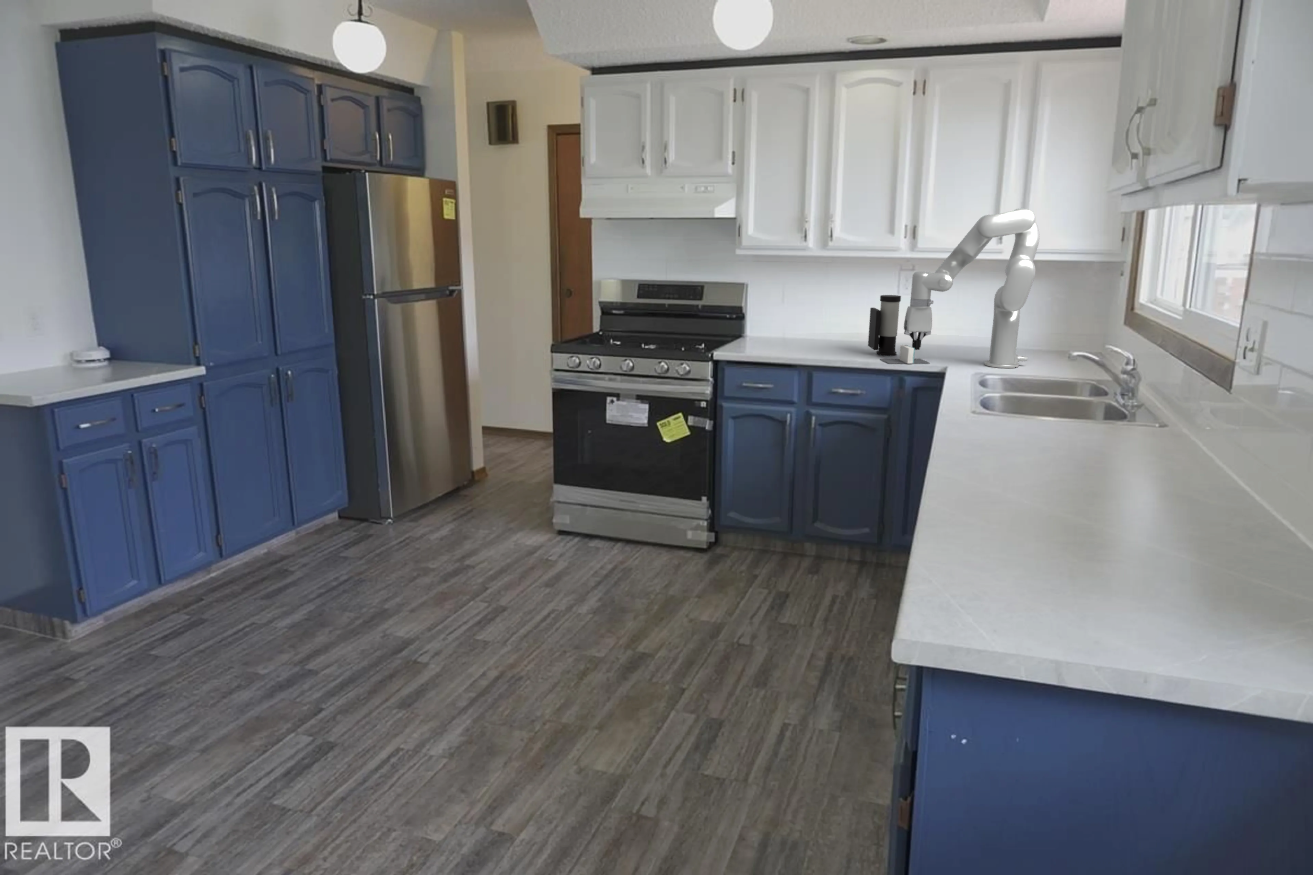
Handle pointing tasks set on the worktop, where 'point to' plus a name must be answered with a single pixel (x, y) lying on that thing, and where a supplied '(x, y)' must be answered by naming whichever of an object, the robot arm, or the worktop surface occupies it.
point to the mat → (897, 361)
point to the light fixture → (884, 325)
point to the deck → (907, 354)
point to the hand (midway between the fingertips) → (916, 349)
